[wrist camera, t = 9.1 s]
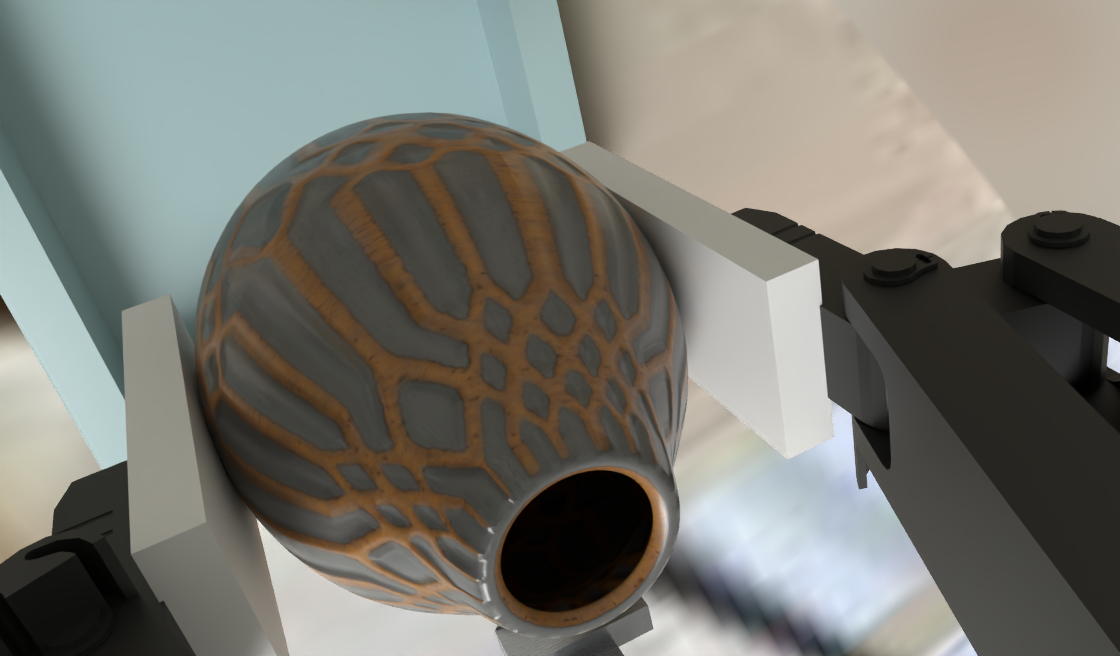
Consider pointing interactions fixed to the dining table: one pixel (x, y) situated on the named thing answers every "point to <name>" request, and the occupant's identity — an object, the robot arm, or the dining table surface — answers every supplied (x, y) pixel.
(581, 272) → the vase
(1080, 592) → the robot arm
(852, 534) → the dining table surface
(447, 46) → the parts bin
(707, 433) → the dining table surface
